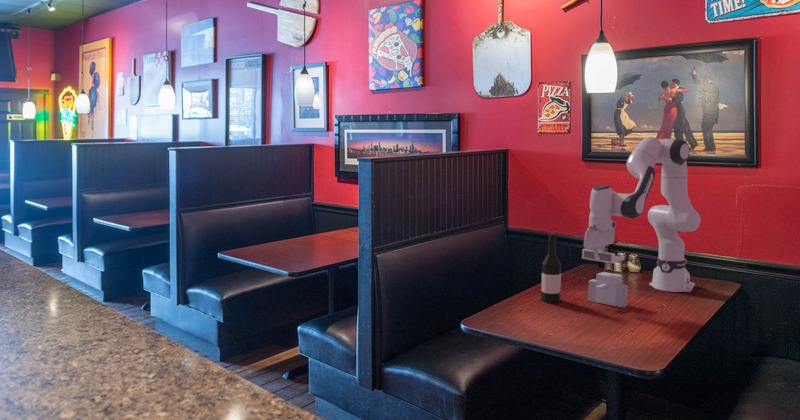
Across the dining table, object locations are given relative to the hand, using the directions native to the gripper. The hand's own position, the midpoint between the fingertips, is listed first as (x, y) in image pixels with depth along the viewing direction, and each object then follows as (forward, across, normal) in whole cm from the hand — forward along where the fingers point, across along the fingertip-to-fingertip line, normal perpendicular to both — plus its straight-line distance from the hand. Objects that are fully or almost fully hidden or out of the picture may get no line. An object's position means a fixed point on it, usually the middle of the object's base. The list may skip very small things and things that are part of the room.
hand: (598, 256), depth 256 cm
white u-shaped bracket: (+2, +4, 0) cm, 5 cm away
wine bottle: (+22, -6, +19) cm, 29 cm away
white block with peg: (+22, +5, -1) cm, 22 cm away
